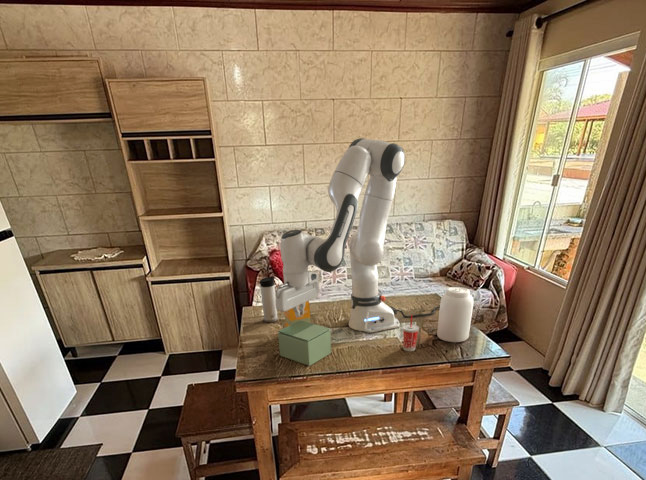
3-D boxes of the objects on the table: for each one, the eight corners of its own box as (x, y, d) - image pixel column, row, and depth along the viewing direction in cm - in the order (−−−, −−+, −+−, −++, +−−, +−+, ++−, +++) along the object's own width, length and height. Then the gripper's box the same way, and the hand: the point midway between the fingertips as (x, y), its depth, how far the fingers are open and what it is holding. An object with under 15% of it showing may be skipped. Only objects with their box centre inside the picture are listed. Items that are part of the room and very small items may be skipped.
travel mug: (276, 322, 187) (271, 280, 177) (262, 322, 188) (257, 279, 178) (280, 317, 192) (276, 276, 183) (266, 317, 194) (262, 275, 184)
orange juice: (286, 333, 176) (282, 288, 166) (305, 330, 178) (302, 285, 169) (291, 340, 169) (288, 293, 159) (311, 336, 172) (309, 290, 162)
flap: (277, 331, 152) (277, 330, 152) (300, 321, 161) (300, 320, 161) (292, 336, 148) (292, 335, 148) (314, 325, 157) (314, 324, 157)
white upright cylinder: (444, 344, 160) (450, 295, 151) (431, 332, 171) (436, 285, 162) (473, 341, 162) (481, 292, 152) (459, 329, 173) (466, 283, 163)
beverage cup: (415, 345, 161) (417, 311, 154) (418, 351, 156) (421, 317, 149) (399, 345, 161) (401, 312, 154) (403, 352, 156) (405, 318, 149)
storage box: (280, 355, 157) (277, 330, 152) (302, 343, 166) (300, 320, 161) (309, 365, 149) (307, 340, 144) (331, 353, 158) (330, 328, 153)
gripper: (282, 288, 136) (286, 326, 143) (320, 272, 149) (323, 308, 156) (268, 285, 139) (273, 322, 146) (308, 270, 153) (310, 305, 160)
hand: (299, 315), depth 151 cm, fingers closed
